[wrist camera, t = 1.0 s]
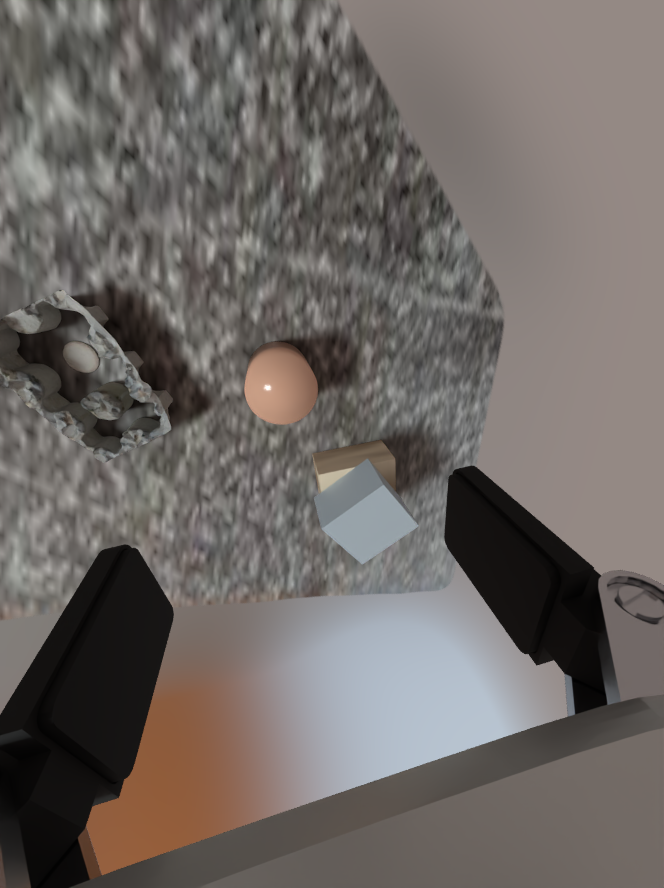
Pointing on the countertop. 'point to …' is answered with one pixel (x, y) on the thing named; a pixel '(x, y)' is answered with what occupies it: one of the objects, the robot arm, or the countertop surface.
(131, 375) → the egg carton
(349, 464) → the tower base block
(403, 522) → the tower top block
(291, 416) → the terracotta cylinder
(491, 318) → the countertop surface
